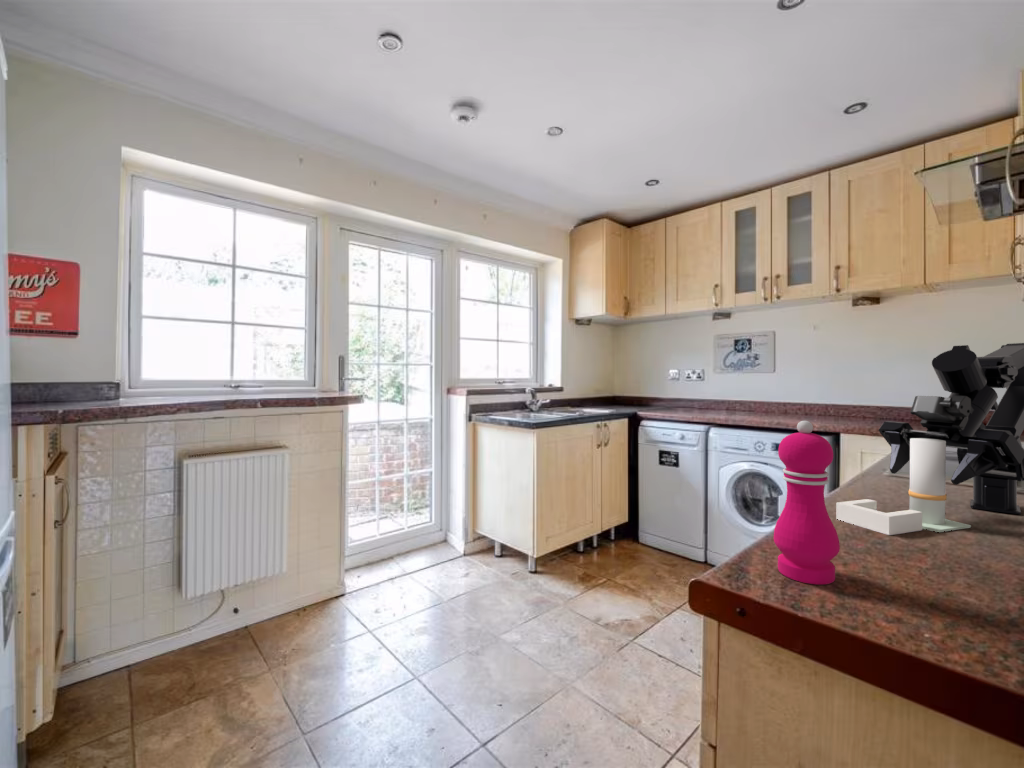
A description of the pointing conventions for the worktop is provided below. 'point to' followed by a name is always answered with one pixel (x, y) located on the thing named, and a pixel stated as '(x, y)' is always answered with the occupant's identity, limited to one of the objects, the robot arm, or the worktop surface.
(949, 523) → the sage mat
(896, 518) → the clip bracket
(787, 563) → the pepper mill
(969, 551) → the worktop surface
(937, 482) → the white banded cylinder
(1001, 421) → the robot arm
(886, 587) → the worktop surface
